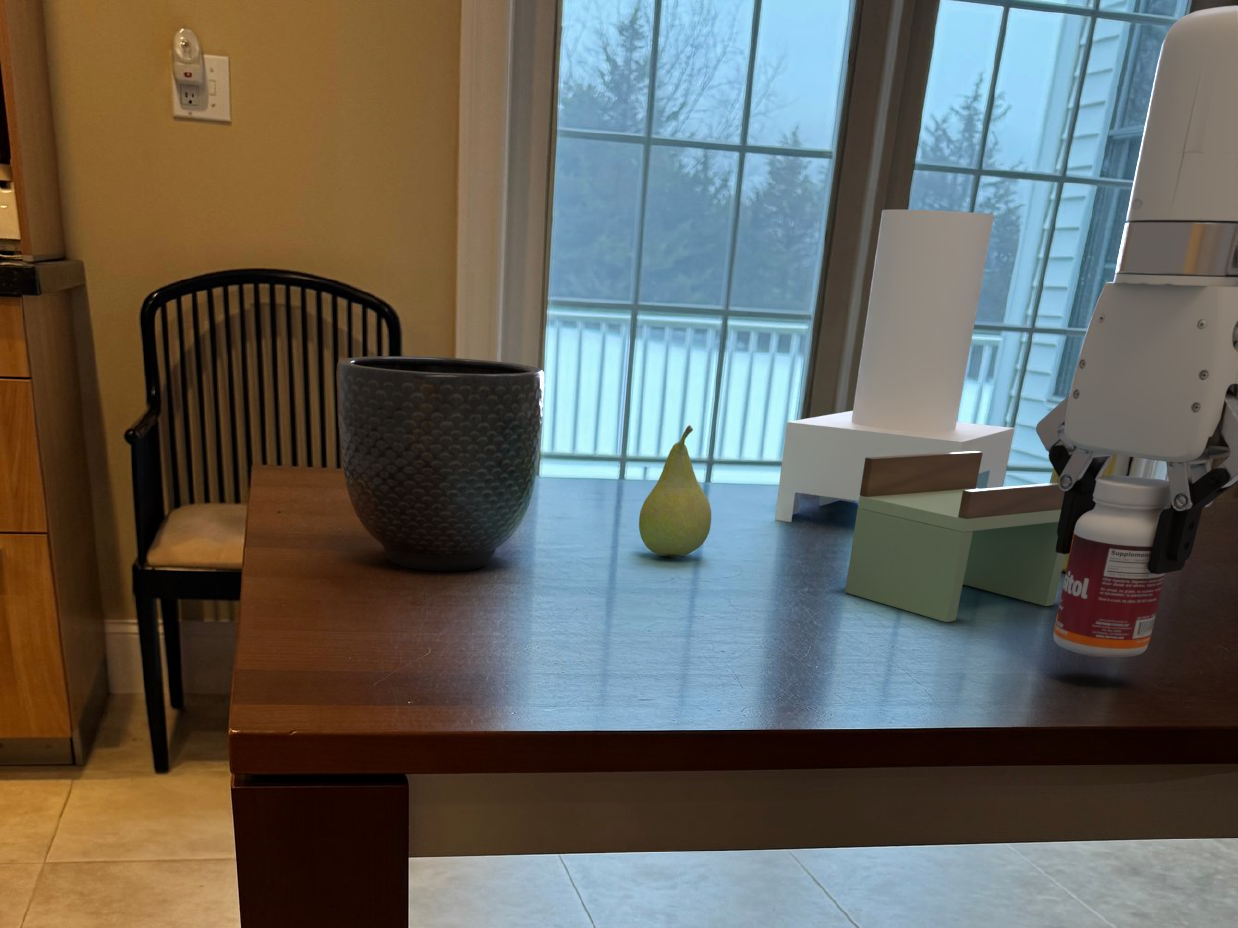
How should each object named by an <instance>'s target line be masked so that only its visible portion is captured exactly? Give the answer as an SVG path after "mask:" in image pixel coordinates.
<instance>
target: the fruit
mask: <svg viewBox="0 0 1238 928" xmlns="http://www.w3.org/2000/svg"><path fill="white" fill-rule="evenodd" d="M693 431H694V429H693V427H692V425H690V424H689V425H687V427H686V428H685V430H684V432H683V434H682V436H681V437H680V440H679V441H677V442H676V443H674V444H673V445H672V447H671V449H670V450H669V452H668V455H667V457H666V459H665V463H664V465H663V468H662V472H661V474H660V476H659V478H658V480H657V481H656V484H655V485H654V487H653V488H652V489H651V491H650V492H649V494H648V495H647V497H646V498H645V499H644V501H643V503H642V506H641V508H640V511H639V516H638V517H639V518H638V528H639V529H638V530H639V536H640V538H641V541H642V543H643V544H644V546H645V547H646V548H647V549H648V550H649V551H650V552H652V553H653V554H655V555H658V556H662V557H669V558H677V557H678V558H682V559H683V558H685V556H687V555H689V554H691V553H693V552H695V551H696V550H697V549H699V548H700V547H701V546H702V545H703V544H704V543H705V542H706V540H707V538H708V536H709V534H710V531H711V525H712V508H711V503H710V501H709V499H708V497H707V494H706V493H705V492H704V490H703V488H702V487H701V485H700V483H699V481H698V479H697V476H696V473H695V471H694V467H693V463H692V461H691V458H690V455H689V451H688V447H687V445H686V444H685V443H686V438H688V437H689V435H690V434H691V433H692V432H693Z"/></svg>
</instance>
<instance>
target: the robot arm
mask: <svg viewBox="0 0 1238 928" xmlns="http://www.w3.org/2000/svg"><path fill="white" fill-rule="evenodd" d="M1125 221H1126V222H1125V224H1124V228H1123V231H1122V232H1123V233H1122V238H1121V243H1120V248H1119V253H1118V257H1117V263H1116V268H1115V273H1114V277H1113V278H1114V279H1113V281H1106V282H1105V283H1104V285H1103V288H1102V290H1101V292H1100V293H1099V297H1098V299H1097V302H1096V304H1095V307H1094V308H1093V309H1094V310H1093V312H1092V314H1091V317H1090V321H1089V323H1088V327H1087V329H1086V333H1085V335H1084V338H1083V341H1082V346H1081V349H1080V352H1079V356H1078V359H1077V363H1076V366H1075V370H1074V373H1073V378H1072V383H1071V385H1070V386H1071V387H1070V391H1069V394H1068V395H1067V396H1066V397H1065V398H1064V399H1063V400H1062V401H1060V403H1059V404H1057V405H1056V406H1055V407H1054V408H1052V410H1050V412H1049V413H1047V414H1046V415H1045V416H1044V417H1043V418H1041V420H1039V421H1038V422H1037V424H1036V427H1035V431H1036V434H1037V436H1038V438H1039V439H1040V442H1041V443H1042V446H1043V448H1044V449H1045V451H1046V452H1048V460H1049V462H1050V464H1051V466H1052V467H1053V468H1054V469H1055V471H1056V473H1057V475H1058V477H1059V479H1058V486H1059V488H1060V489H1061V490H1062V491H1065V493H1064V498H1063V503H1062V508H1061V513H1060V518H1059V523H1058V528H1057V535H1058V539H1057V544H1056V552H1057V553H1061V554H1068V553H1070V549H1071V544H1072V539H1073V534H1074V530H1075V525H1076V523H1077V521H1078V519H1079V518H1080V517H1081V516H1082V515H1083V514H1085V513H1086V512H1088V511H1091V510H1093V509H1094V507H1095V505H1096V502H1094V501H1093V498H1094V497H1093V493H1094V490H1095V486H1096V481H1097V479H1098V478H1099V477H1101V476H1102V474H1103V472H1104V471H1105V469H1106V467H1107V466H1108V464H1109V462H1110V461H1111V459H1112V457H1113V456H1114V454H1116V455H1117V456H1122V457H1123V456H1124V457H1129V458H1130V457H1131V458H1137V459H1145V460H1151V461H1159V462H1165V463H1166V464H1165V465H1166V470H1167V471H1166V472H1167V477H1168V478H1167V479H1168V481H1169V487H1170V495H1171V502H1170V507H1169V508H1164V509H1163V511H1162V512H1161V513H1160V516H1159V520H1158V525H1157V529H1156V533H1155V537H1154V542H1153V546H1152V550H1151V555H1150V559H1149V563H1148V570H1149V571H1150V573H1154V574H1163V573H1165V574H1169V573H1173V572H1178V571H1179V572H1180V571H1181V570H1183V569H1184V567H1185V564H1186V561H1188V560H1189V558H1190V557H1191V555H1192V552H1193V549H1194V544H1195V540H1196V536H1197V532H1198V528H1199V524H1200V519H1201V516H1202V512H1203V509H1204V508H1208V507H1210V506H1211V505H1212V504H1213V503H1214V500H1216V499H1217V498H1219V497H1220V496H1221V495H1222V494H1224V493H1226V492H1227V491H1228V490H1229V489H1231V488H1232V487H1234V486H1235V485H1236V484H1237V482H1238V5H1225V6H1217V7H1210V8H1204V9H1199V10H1195V11H1193V12H1190V13H1188V14H1186V15H1183V16H1181V17H1180V18H1179V19H1178V20H1176V21H1175V22H1174V23H1173V25H1172V26H1171V27H1170V28H1169V29H1168V31H1167V32H1166V35H1165V36H1164V39H1163V41H1162V44H1161V48H1160V53H1159V55H1158V61H1157V65H1156V70H1155V75H1154V79H1153V84H1152V90H1151V95H1150V99H1149V104H1148V109H1147V114H1146V120H1145V124H1144V129H1143V134H1142V138H1141V143H1140V149H1139V152H1138V159H1137V164H1136V169H1135V174H1134V179H1133V183H1132V189H1131V193H1130V198H1129V203H1128V210H1127V212H1126V219H1125ZM1225 457H1226V459H1224V460H1223V461H1222V463H1220V464H1219V465H1218V466H1217V467H1215V468H1212V467H1211V466H1212V465H1211V460H1212V459H1214V460H1215V459H1221V458H1225ZM1053 468H1052V469H1053Z"/></svg>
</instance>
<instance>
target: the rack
mask: <svg viewBox="0 0 1238 928" xmlns="http://www.w3.org/2000/svg"><path fill="white" fill-rule="evenodd" d="M982 454H983V453H982V452H978V451H969V452H951V453H934V454H917V455H899V456H882V457H866V458H865V463H864V470H863V476H862V483H861V490H860V496H859V501H858V504H857V509H856V517H855V524H854V530H853V535H852V543H851V549H850V557H849V563H848V569H847V576H846V582H845V589H844V593H846V594H849V595H853V596H856V597H860V598H863V599H866V600H870V601H873V602H876V603H879V604H883V605H886V606H889V607H892V608H897V609H900V610H903V611H907V612H909V613H912V614H913V613H914V614H917V615H920V616H924V617H925V618H926V617H927V618H930V619H934V620H937V621H941V622H944V623H951V622H955V621H956V620H957V616H958V610H959V606H960V600H961V595H962V590H963V585H965V586H968V587H971V588H975V589H979V590H983V591H986V592H990V593H994V594H998V595H1001V596H1006V597H1009V598H1013V599H1016V600H1019V601H1024V602H1028V603H1032V604H1035V605H1039V606H1043V607H1049V606H1054V605H1055V602H1056V598H1057V593H1058V589H1059V585H1060V582H1061V581H1060V580H1061V576H1062V573H1063V572H1062V567H1063V563H1064V559H1065V554H1061V553H1057V552H1056V544H1057V539H1058V535H1057V528H1058V523H1059V518H1060V513H1061V508H1062V503H1063V498H1064V493H1065V491H1062V490H1061V489H1060V488H1059V486H1058V483H1050V482H1048V483H1035V484H1025V485H1024V484H1023V485H1012V486H1003V487H998V488H986V489H977V488H976V485H977V480H978V474H979V469H980V464H981V459H982Z"/></svg>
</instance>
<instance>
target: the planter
mask: <svg viewBox="0 0 1238 928" xmlns="http://www.w3.org/2000/svg"><path fill="white" fill-rule="evenodd" d="M545 384H546V383H545V373H544V371H543V369H541V368H540V367H536V366H532V365H527V364H519V363H513V362H506V361H505V362H504V361H495V360H485V359H473V358H459V357H458V358H456V357H438V356H437V357H436V356H406V355H403V356H401V355H390V356H389V355H387V356H386V355H384V356H383V355H382V356H381V355H380V356H358V357H357V356H356V357H347V358H342V359H339V360H338V362H337V364H336V391H337V392H336V395H337V396H336V398H337V399H336V400H337V401H336V402H337V421H338V433H339V445H340V453H341V461H342V467H343V468H342V469H343V475H344V480H345V481H344V482H345V485H346V490H347V494H348V497H349V500H350V503H351V505H352V508H353V510H354V513H355V515H356V517H357V518H358V520H359V522H360V523H361V524H362V525H361V526H363V527H364V529H365V530H366V532H368V534H369V535H370V536H371V537H372V538H373V539H374V540H376V541H377V542H378V543H380V545H381V546H382V547H383V550H384V552H385V555H386V556H387V558H388V559H389V561H390V562H392V563H393V564H395V565H398V566H401V567H404V568H407V569H413V570H419V571H428V572H462V571H463V572H464V571H472V570H476V569H480V568H483V567H485V566H487V565H488V564H490V563H491V561H492V559H493V557H494V555H495V552H496V550H497V549H498V548H499V547H501V546H502V545H503V544H505V543H506V542H507V541H508V540H509V539H510V538H511V537H512V536H513V535H514V534H515V532H516V531H517V530H518V529H519V527H520V526H521V525H522V522H523V520H524V518H525V517H526V514H527V511H528V509H529V506H530V503H531V500H532V496H533V492H534V488H535V485H536V478H537V471H538V464H539V459H540V451H541V442H542V441H541V440H542V431H543V421H544V419H543V418H544V401H545V399H544V398H545Z"/></svg>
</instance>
